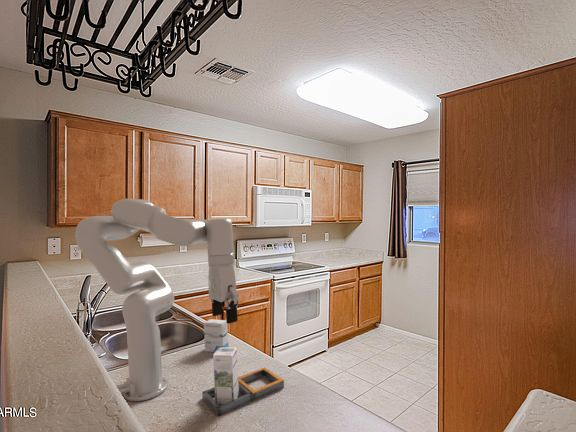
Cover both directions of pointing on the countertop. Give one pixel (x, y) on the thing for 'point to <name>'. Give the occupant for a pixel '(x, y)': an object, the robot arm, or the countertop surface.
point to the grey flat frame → (245, 391)
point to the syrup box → (225, 375)
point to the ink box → (215, 335)
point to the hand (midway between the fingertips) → (224, 318)
